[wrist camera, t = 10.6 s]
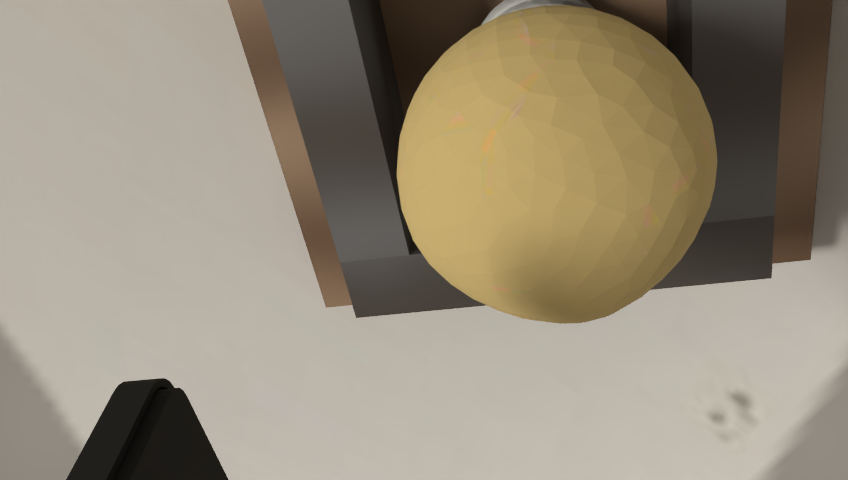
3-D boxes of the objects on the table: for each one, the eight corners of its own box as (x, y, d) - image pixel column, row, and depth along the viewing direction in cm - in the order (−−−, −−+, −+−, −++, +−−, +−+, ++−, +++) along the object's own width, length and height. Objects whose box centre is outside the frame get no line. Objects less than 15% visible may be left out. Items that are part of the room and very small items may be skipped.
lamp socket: (179, -208, 21) (101, -187, 17) (843, -355, 18) (939, -373, 14) (332, 286, 29) (304, 378, 25) (798, 238, 26) (850, 333, 22)
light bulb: (706, -6, 21) (834, 180, 13) (582, 182, 25) (619, 425, 16) (489, -117, 20) (476, 9, 12) (391, 96, 24) (327, 308, 15)
